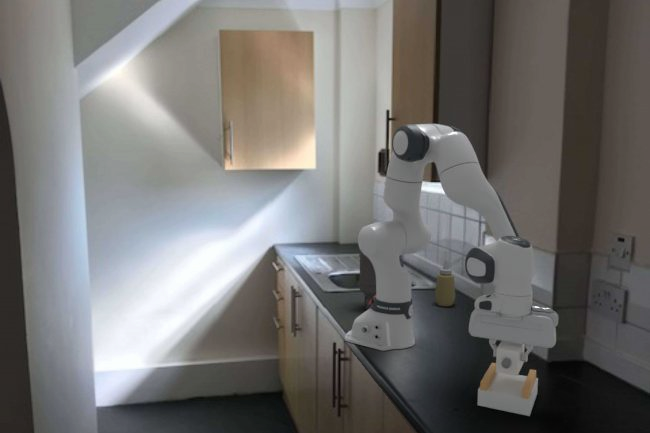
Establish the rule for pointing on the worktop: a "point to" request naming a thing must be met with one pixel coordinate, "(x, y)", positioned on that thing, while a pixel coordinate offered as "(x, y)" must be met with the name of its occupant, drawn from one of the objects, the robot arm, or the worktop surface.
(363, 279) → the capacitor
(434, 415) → the worktop surface
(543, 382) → the worktop surface
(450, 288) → the squeeze bottle
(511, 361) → the white block with knob
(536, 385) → the white tray with rails
